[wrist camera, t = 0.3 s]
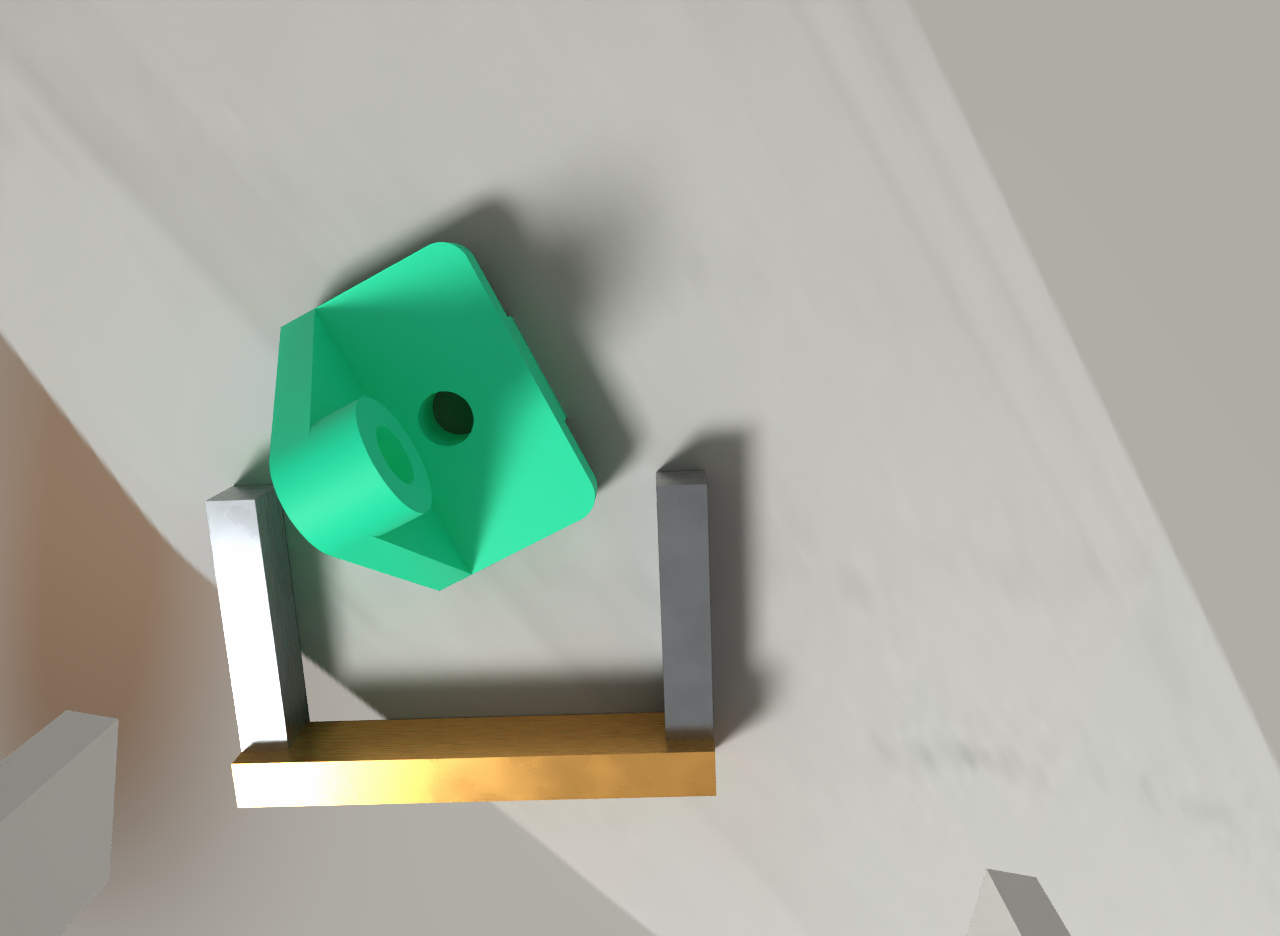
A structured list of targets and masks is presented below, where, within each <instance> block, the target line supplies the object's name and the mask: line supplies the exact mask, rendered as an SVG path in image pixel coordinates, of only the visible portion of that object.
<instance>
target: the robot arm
mask: <svg viewBox="0 0 1280 936" xmlns="http://www.w3.org/2000/svg"><path fill="white" fill-rule="evenodd" d="M117 735H118V719H114V718H109V717H103V716H97V715H91V714H86V713H80V712H74V711H68V710H66V711H65V712H64V713H63V714H61V715H60V716H59V717H57V718H56V719H55V720H54V721H52V722H51V723H50V724H48V725H47V726H46V727H45V728H43V729H42V730H41V731H40V732H38V733H37V734H36V735H34V736H33V737H32V738H31V739H30V740H28V741H27V742H25V743H24V744H23V745H22V746H20V747H19V748H18V749H17V750H15V751H14V752H13V753H11V754H10V755H9V756H8V757H6V758H5V759H4V760H3V761H1V762H0V936H60V935H61V934H62V933H63V932H64V931H65V930H66V929H67V927H68V926H69V925H70V924H71V923H72V921H73V920H74V919H75V918H76V917H77V916H78V915H79V914H80V912H81V911H82V910H83V909H84V908H85V907H86V905H87V904H88V903H89V902H90V901H91V900H92V899H93V898H94V896H95V895H96V894H97V893H98V892H99V891H100V889H101V888H102V887H103V886H104V885H105V884H106V883H107V881H108V880H109V877H110V859H111V841H112V824H113V806H114V788H115V772H116V753H117V752H116V751H117ZM966 936H1071V935H1070V933H1069V932H1068V930H1067V928H1066V927H1065V925H1064V923H1063V922H1062V920H1061V918H1060V917H1059V915H1058V913H1057V912H1056V910H1055V908H1054V907H1053V905H1052V903H1051V902H1050V900H1049V898H1048V897H1047V895H1046V893H1045V892H1044V890H1043V888H1042V887H1041V885H1040V883H1039V882H1038V880H1037V878H1036V877H1031V876H1025V875H1020V874H1014V873H1008V872H1002V871H996V870H991V869H986V872H985V875H984V878H983V881H982V885H981V888H980V891H979V895H978V898H977V901H976V904H975V908H974V911H973V914H972V918H971V921H970V924H969V927H968V931H967V934H966Z"/></svg>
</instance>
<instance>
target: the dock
mask: <svg viewBox="0 0 1280 936" xmlns="http://www.w3.org/2000/svg"><path fill="white" fill-rule="evenodd" d="M656 491H657V518H658V545H659V571H660V598H661V625H662V652H663V679H664V706H665V712H655V713H619V714H582V715H545V716H508V717H472V718H435V719H398V720H363V721H362V720H361V721H327V722H326V721H325V722H310V719H309V712H308V704H307V696H306V688H305V681H304V674H303V665H302V657H301V650H300V642H299V634H298V626H297V618H296V611H295V603H294V595H293V587H292V580H291V572H290V564H289V556H288V549H287V541H286V533H285V525H284V518H283V510H282V505H281V503H280V501H279V498H278V496H277V494H276V491H275V489H274V486H273V485H254V486H232V487H230V488H229V489H227V490H225V491H223V492H221V493H219V494H218V495H216V496H214V497H212V498H210V499H208V500H207V501H205V505H206V511H207V518H208V525H209V532H210V539H211V545H212V552H213V559H214V566H215V572H216V579H217V586H218V593H219V599H220V606H221V613H222V620H223V626H224V633H225V640H226V647H227V653H228V661H229V667H230V674H231V681H232V687H233V694H234V701H235V708H236V715H237V722H238V728H239V735H240V742H241V749H242V752H241V753H240V755H239V756H238V757H237V759H236V760H235V761H234V762H233V763H232V771H233V778H234V784H235V791H236V797H237V803H238V807H272V806H274V807H275V806H310V805H311V806H315V805H355V804H393V803H395V804H396V803H434V802H435V803H437V802H475V801H476V802H477V801H518V800H559V799H599V798H640V797H681V796H716V774H715V748H714V737H713V697H712V656H711V616H710V576H709V535H708V495H707V481H706V476H705V471H704V470H690V471H661V472H656Z"/></svg>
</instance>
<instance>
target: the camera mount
mask: <svg viewBox="0 0 1280 936" xmlns="http://www.w3.org/2000/svg"><path fill="white" fill-rule="evenodd" d="M441 391H448V392H453V393H456V394H458V395H459V396H461V397H462V398H464V399H465V400H466V401H467V403H468V404H469V406H470V407H471V410H472V412H473V418H474V423H473V428H472V431H471V432H470V433H468V434H463V435H457V434H452V433H449V432H447V431H445V430H444V429H443V428H442V427H440V425H439V424H438V423H437V421H436V420H435V417H434V414H433V401H434V398H435V396H436V394H437V393H438V392H441ZM566 418H567V417H566V415H565V413H564V411H563V409H562V407H561V406H560V404H559V402H558V400H557V398H556V397H555V395H554V393H553V391H552V389H551V387H550V386H549V384H548V382H547V380H546V378H545V376H544V375H543V373H542V371H541V369H540V367H539V366H538V364H537V362H536V360H535V358H534V356H533V355H532V353H531V351H530V349H529V347H528V345H527V344H526V342H525V340H524V338H523V336H522V335H521V333H520V331H519V329H518V327H517V325H516V324H515V322H514V320H513V318H512V316H510V317H507V315H506V313H505V311H504V310H503V308H502V306H501V304H500V302H499V301H498V299H497V297H496V295H495V293H494V291H493V290H492V288H491V286H490V284H489V282H488V280H487V279H486V277H485V275H484V273H483V271H482V270H481V268H480V266H479V264H478V262H477V260H476V259H475V257H474V255H473V254H472V253H471V252H470V251H469V250H468V249H467V248H466V247H464V246H462V245H460V244H457V243H449V242H437V243H433V244H430V245H428V246H426V247H424V248H422V249H421V250H419V251H417V252H415V253H413V254H412V255H410V256H408V257H406V258H404V259H403V260H401V261H399V262H397V263H396V264H394V265H392V266H390V267H388V268H387V269H385V270H383V271H381V272H379V273H378V274H376V275H374V276H372V277H370V278H369V279H367V280H365V281H363V282H361V283H360V284H358V285H356V286H354V287H352V288H351V289H349V290H347V291H345V292H343V293H342V294H340V295H338V296H336V297H335V298H333V299H331V300H329V301H327V302H326V303H324V304H322V305H320V306H318V307H317V308H315V309H313V310H311V311H309V312H308V313H306V314H304V315H302V316H300V317H299V318H297V319H295V320H293V321H291V322H290V323H288V324H286V325H284V326H283V327H281V333H280V344H279V355H278V366H277V378H276V389H275V400H274V411H273V423H272V434H271V445H270V457H269V467H270V474H271V479H272V482H273V486H274V489H275V491H276V494H277V496H278V498H279V501H280V503H281V505H282V507H283V508H284V510H285V512H286V514H287V515H288V517H289V518H290V520H291V521H292V523H293V524H294V526H295V527H296V528H297V530H298V531H299V532H300V533H301V534H302V535H303V536H304V538H305V539H306V540H307V541H308V542H310V543H311V544H312V545H313V546H314V547H315V548H317V549H318V550H320V551H321V552H323V553H325V554H327V555H330V556H333V557H336V558H339V559H342V560H345V561H348V562H352V563H355V564H358V565H361V566H364V567H367V568H370V569H373V570H376V571H379V572H382V573H386V574H389V575H392V576H395V577H398V578H401V579H404V580H407V581H410V582H413V583H417V584H420V585H423V586H426V587H429V588H432V589H435V590H438V591H440V590H442V589H444V588H446V587H448V586H450V585H452V584H454V583H456V582H458V581H460V580H462V579H464V578H466V577H468V576H470V575H472V574H474V573H476V572H478V571H480V570H482V569H484V568H486V567H488V566H490V565H492V564H494V563H496V562H498V561H500V560H501V559H503V558H505V557H507V556H509V555H511V554H513V553H515V552H517V551H519V550H521V549H523V548H525V547H527V546H529V545H531V544H533V543H535V542H537V541H539V540H541V539H543V538H545V537H547V536H549V535H551V534H553V533H555V532H557V531H559V530H561V529H563V528H565V527H567V526H569V525H571V524H573V523H575V522H577V521H579V520H581V519H582V518H584V517H585V516H586V515H588V513H589V512H590V511H591V509H592V507H593V505H594V501H595V498H596V494H597V481H596V478H595V475H594V473H593V472H592V470H591V468H590V466H589V464H588V463H587V461H586V459H585V457H584V455H583V453H582V452H581V450H580V448H579V446H578V444H577V443H576V441H575V439H574V437H573V435H572V433H571V432H570V430H569V428H568V426H567V424H566V423H565V420H566Z"/></svg>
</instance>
